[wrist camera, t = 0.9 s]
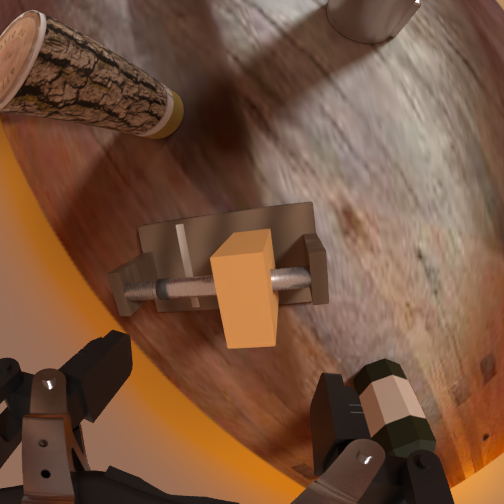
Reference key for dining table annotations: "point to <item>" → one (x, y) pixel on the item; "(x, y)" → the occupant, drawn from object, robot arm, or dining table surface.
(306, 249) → the pipe stand
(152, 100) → the bark log section
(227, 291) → the collar
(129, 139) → the dining table surface
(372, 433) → the wine bottle
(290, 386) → the dining table surface
